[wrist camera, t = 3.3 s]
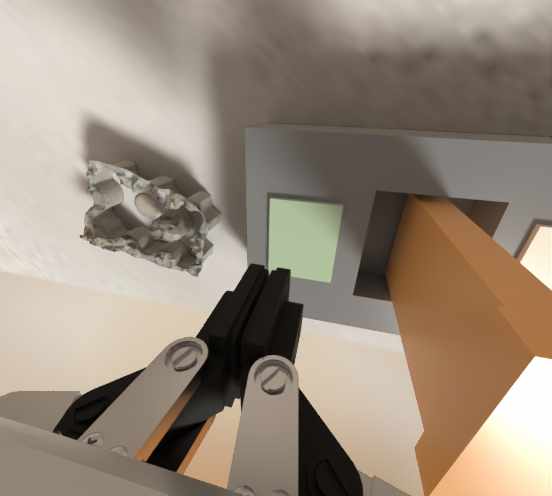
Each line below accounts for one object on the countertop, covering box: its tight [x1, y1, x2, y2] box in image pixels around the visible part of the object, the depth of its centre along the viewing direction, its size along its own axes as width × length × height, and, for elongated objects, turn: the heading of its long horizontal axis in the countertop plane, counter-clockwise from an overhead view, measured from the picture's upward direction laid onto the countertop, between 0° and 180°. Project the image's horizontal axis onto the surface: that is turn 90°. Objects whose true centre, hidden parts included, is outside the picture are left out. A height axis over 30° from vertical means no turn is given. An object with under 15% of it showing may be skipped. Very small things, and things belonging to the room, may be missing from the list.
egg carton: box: [80, 160, 221, 277], centre depth 21 cm, size 11×8×4 cm
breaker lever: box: [385, 193, 552, 496], centre depth 11 cm, size 2×6×12 cm, turn 179°
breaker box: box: [244, 123, 552, 335], centre depth 16 cm, size 20×12×5 cm, turn 89°
